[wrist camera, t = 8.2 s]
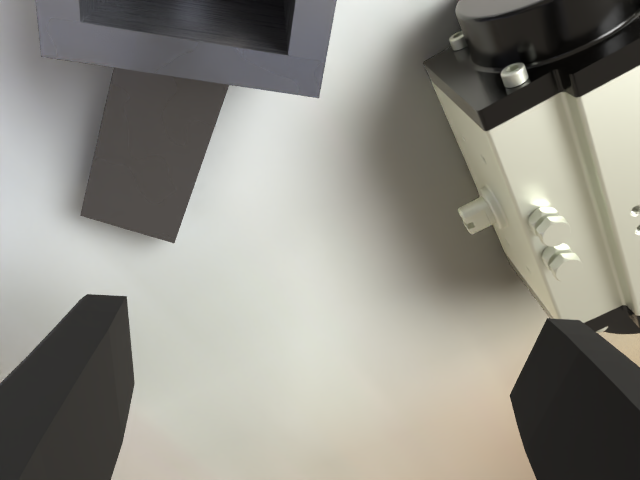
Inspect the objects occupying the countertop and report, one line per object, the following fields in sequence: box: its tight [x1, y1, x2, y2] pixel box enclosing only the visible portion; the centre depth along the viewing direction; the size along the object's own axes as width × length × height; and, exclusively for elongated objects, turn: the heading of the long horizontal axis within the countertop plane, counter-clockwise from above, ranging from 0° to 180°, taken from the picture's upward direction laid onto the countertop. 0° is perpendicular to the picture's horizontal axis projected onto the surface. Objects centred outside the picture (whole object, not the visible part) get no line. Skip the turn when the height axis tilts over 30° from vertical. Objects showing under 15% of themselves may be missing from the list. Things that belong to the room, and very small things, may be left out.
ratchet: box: [80, 68, 229, 243], centre depth 14 cm, size 13×6×4 cm, turn 156°
